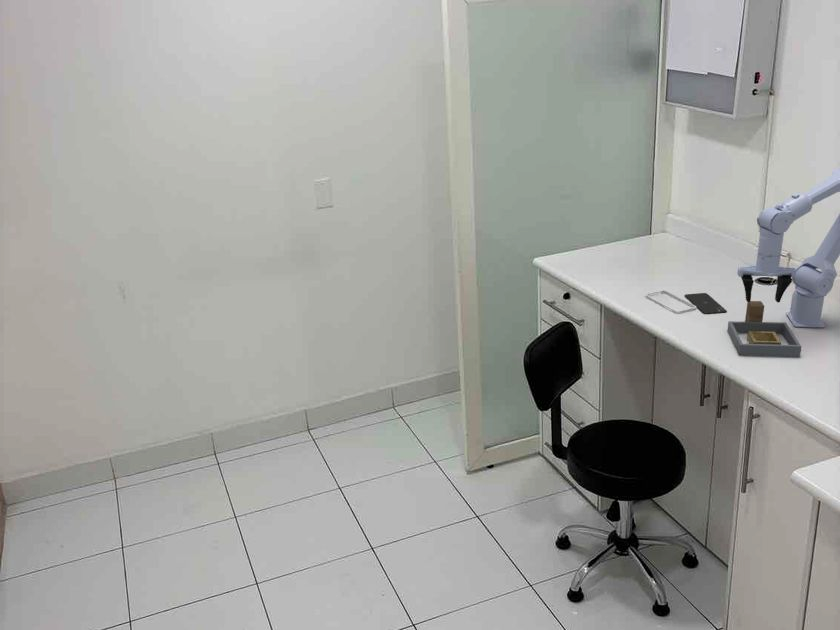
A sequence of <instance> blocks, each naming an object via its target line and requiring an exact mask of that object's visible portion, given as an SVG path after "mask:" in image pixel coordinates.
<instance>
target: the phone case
mask: <svg viewBox="0 0 840 630" xmlns="http://www.w3.org/2000/svg"><path fill="white" fill-rule="evenodd" d="M659 293H660V294H664V295H667V296H669V297H671V298H673V299H674V300H677V301H678V302H680V303H682V304H684V305H686V306H688V307H690V308H685V309H681V310H676V309H675V308H673V307H670V306H669V305H666V304H665V303H663V302H661V301H659V300H657V299H655V298H653V297H652V296H650V295H653V294H654V295H655V294H659ZM645 298H646V299H647V300H649V301H651V302H653V303H654V304H657V305H658V306H660V307H662V308H667V309H669V310H670V311H672V313H673V314H675V315H680V314H684V313H688V312H692V311H693V312H694V311H697V308H696V306H695V305H693V304H692V303H691V302H690V301H686V300H685V299H683V298H681V297H679V296H676V295H675V294H673V293H671V292H668V291H667V290H660V291H655V292H650V293H646V294H645Z"/></svg>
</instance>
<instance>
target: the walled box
mask: <svg viewBox="0 0 840 630" xmlns="http://www.w3.org/2000/svg"><path fill="white" fill-rule="evenodd" d="M726 331H727V334H728V336H729V338H730V340H731V342H732V345H733V347H734V348H736V349H735V351H736V350H737V351H736V353H737V355H738V356H742V355H743V356H744V357H745V356H747V357H748V356H749V357H782V358H783V357H784V358H801V353H802V345H801V344H800V342H799V340H798V338H797V337H796V336H795V334H794V333H793V330H791V328H790V326H789V325H788V323H787V322H778V321H774V322H772V321H771V322H769V321H762V322H745V321H736V320H735V321H728V322H727V330H726ZM748 331H764V332H775V333H776V335H779V334H780V335H782V336H783V337H784V339H785V340H786V342H787V344H781V345H774V344H749V343H743V342H742V340H741V336H740V335H739V333H740V334H748ZM737 332H738V333H737Z"/></svg>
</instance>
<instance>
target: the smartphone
mask: <svg viewBox="0 0 840 630" xmlns="http://www.w3.org/2000/svg"><path fill="white" fill-rule="evenodd" d="M684 298H685V299H686V300H688V302H689V303H691V304H693V305H695V306H696V310H698V311H699V312H700V313H701V314H702V315H715V314H716V315H717V314H718V315H719V314H726V313H728V310H726V309H725V307H723V306H722V305H721V304H720V303H719V302H718V301H716V300H715V299H714V298H713V297H712V296H711V295H710V294H708V293H706V292H700V293H699V292H698V293H688V294H687V293H686V294H684Z"/></svg>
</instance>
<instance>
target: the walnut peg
mask: <svg viewBox="0 0 840 630" xmlns="http://www.w3.org/2000/svg"><path fill="white" fill-rule="evenodd" d="M746 302H747V301H746ZM764 311H765V305H764V303H763V302H762V301H761V300H750V302H747V303H746V311H745V319H744V322H763V319H764Z"/></svg>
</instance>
